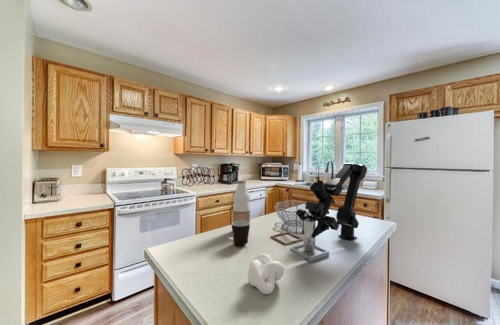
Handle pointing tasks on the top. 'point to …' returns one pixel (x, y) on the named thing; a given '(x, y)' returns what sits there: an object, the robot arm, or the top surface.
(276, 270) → the white knot sculpture
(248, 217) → the fruit juice
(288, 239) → the walnut tray
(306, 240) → the scoop cup
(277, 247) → the top surface
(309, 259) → the grey tray
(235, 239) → the coffee mug
